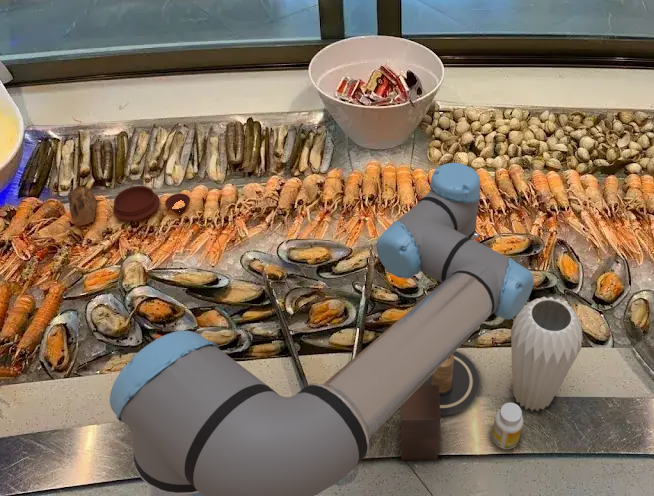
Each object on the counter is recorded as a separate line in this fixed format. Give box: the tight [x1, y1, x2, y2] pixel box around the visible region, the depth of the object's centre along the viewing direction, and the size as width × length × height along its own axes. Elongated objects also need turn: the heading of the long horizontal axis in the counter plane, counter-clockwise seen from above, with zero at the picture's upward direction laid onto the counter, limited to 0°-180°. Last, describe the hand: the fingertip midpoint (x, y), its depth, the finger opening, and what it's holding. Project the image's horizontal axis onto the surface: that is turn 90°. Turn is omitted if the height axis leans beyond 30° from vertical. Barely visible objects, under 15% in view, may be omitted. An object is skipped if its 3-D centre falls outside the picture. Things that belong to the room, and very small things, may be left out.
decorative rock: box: [67, 186, 98, 227], centre depth 171 cm, size 12×6×11 cm, turn 18°
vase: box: [510, 296, 584, 412], centre depth 129 cm, size 13×13×26 cm
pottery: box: [112, 185, 191, 222], centre depth 176 cm, size 12×20×4 cm, turn 92°
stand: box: [400, 385, 442, 461], centre depth 124 cm, size 7×7×15 cm
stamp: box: [430, 354, 454, 396], centre depth 135 cm, size 5×5×10 cm
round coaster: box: [422, 350, 480, 417], centre depth 139 cm, size 16×16×1 cm
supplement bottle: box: [491, 402, 524, 450], centre depth 127 cm, size 5×5×10 cm
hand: (444, 325), depth 124 cm, fingers open, 13 cm apart
